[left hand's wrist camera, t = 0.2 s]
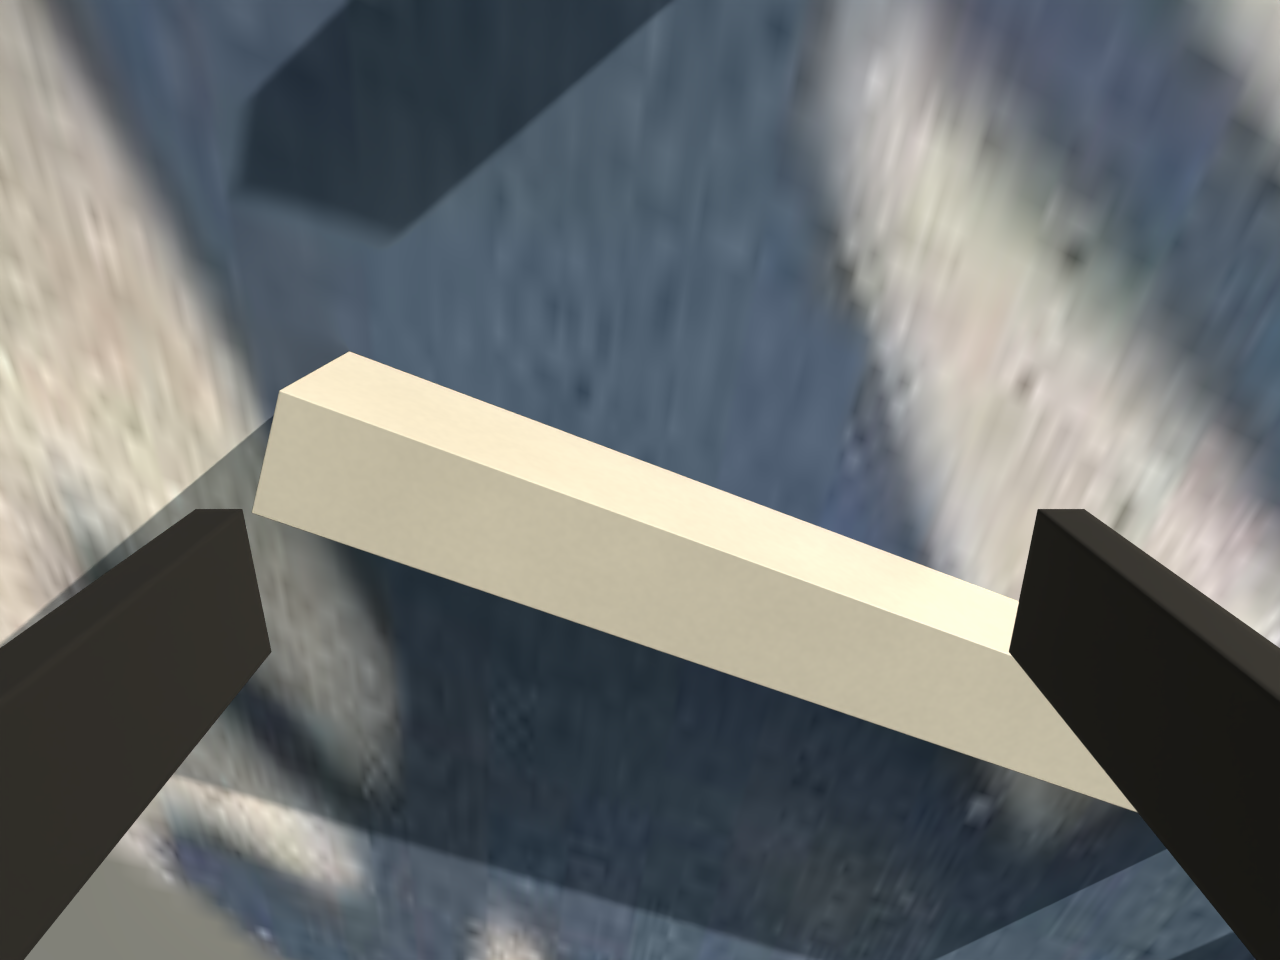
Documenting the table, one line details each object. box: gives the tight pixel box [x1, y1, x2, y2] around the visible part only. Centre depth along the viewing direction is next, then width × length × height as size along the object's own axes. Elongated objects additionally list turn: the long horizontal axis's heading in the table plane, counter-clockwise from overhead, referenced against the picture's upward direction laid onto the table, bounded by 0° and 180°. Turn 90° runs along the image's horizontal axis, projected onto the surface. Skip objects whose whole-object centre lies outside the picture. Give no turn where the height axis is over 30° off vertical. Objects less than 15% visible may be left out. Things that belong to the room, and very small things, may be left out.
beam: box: [252, 352, 1137, 812], centre depth 40 cm, size 64×6×8 cm, turn 68°
